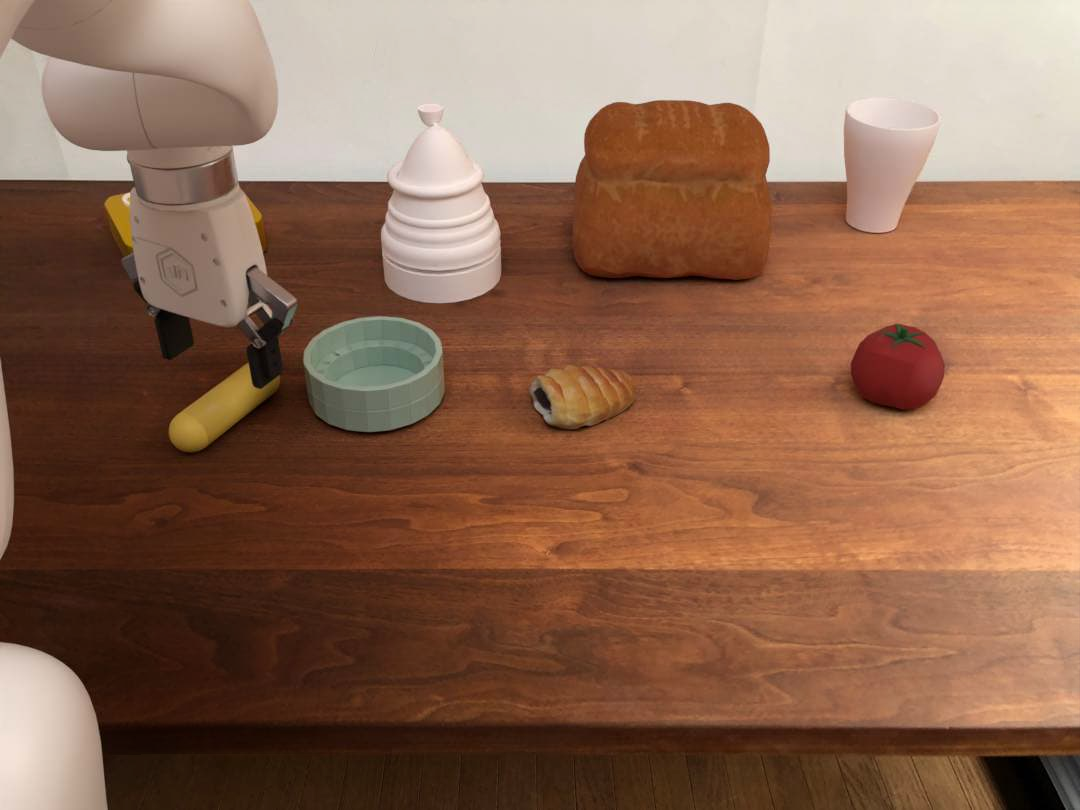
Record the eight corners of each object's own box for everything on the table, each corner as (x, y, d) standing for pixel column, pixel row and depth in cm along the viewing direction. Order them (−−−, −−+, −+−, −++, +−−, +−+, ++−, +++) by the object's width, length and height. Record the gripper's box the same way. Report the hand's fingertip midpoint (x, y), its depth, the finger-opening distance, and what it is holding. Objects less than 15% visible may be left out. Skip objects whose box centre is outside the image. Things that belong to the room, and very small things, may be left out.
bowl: (397, 452, 90) (392, 404, 87) (282, 413, 94) (274, 367, 92) (468, 381, 99) (467, 335, 96) (361, 349, 103) (356, 304, 100)
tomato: (833, 400, 97) (847, 333, 92) (868, 362, 102) (883, 297, 98) (918, 432, 93) (936, 363, 89) (950, 391, 98) (969, 324, 94)
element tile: (136, 285, 114) (126, 245, 111) (109, 230, 124) (99, 192, 121) (272, 254, 120) (266, 215, 117) (234, 204, 130) (228, 168, 127)
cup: (927, 242, 123) (954, 130, 115) (837, 241, 123) (858, 129, 115) (903, 204, 131) (926, 97, 124) (818, 203, 131) (836, 97, 124)
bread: (571, 219, 127) (574, 80, 118) (748, 220, 127) (767, 82, 118) (573, 289, 113) (577, 138, 103) (773, 291, 113) (796, 141, 103)
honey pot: (375, 255, 120) (360, 99, 109) (485, 241, 122) (481, 88, 112) (394, 310, 109) (380, 144, 99) (514, 294, 112) (513, 131, 102)
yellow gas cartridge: (200, 458, 88) (177, 421, 86) (175, 463, 90) (152, 427, 88) (301, 377, 97) (282, 343, 96) (276, 383, 100) (257, 350, 98)
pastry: (614, 376, 100) (616, 342, 97) (649, 415, 95) (652, 380, 92) (523, 399, 96) (523, 364, 94) (554, 440, 92) (555, 405, 89)
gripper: (63, 171, 80) (114, 362, 90) (242, 214, 74) (276, 415, 83) (136, 140, 86) (176, 323, 95) (308, 177, 79) (332, 370, 89)
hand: (223, 366), depth 89 cm, fingers open, 9 cm apart
